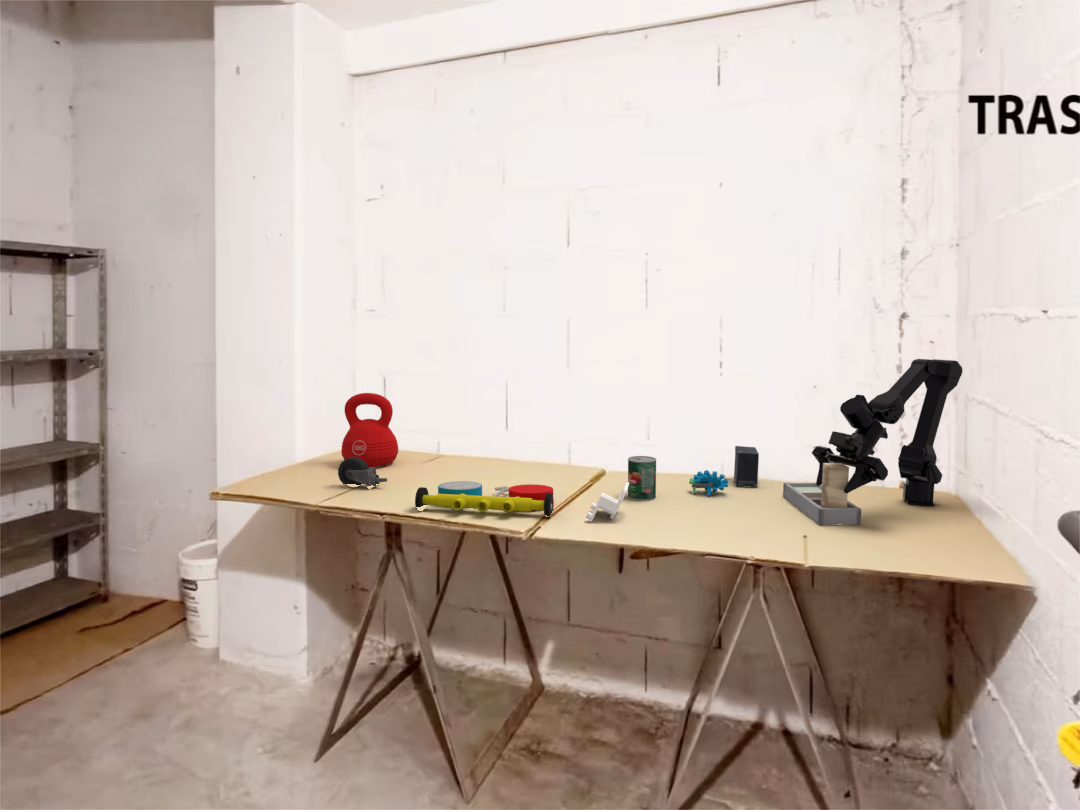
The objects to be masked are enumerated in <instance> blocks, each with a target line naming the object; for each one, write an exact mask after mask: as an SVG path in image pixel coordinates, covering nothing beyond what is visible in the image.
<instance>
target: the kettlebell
mask: <svg viewBox="0 0 1080 810" xmlns="http://www.w3.org/2000/svg"><path fill="white" fill-rule="evenodd" d="M362 405H371V406H376V407H378V409H380V412H381V413H380V414H381V415H380V417H379V419H374V418H364V419H360V418H359V417H358V414H357V408H358V407H359V406H362ZM393 411H394V409H393V405H392V403H391V401H390V400H389V399H388V398H386V397H385V396H383V395H381V394H379V393H374V392H373V393H372V392H362V393H357V394H354V395H352V396H350V398H349V399H348V400H347V401H346V402H345V404H344V414H345V418H346V419H345V420H346V421H347V423H348V425H349V429H348V430H347V432H346V434H345V436H344V437H343V440H342V443H341V457H342V458H343V461H344V460H345V459H347V458H351V457H358V458H360V459H362V460H364V461H365V463H366V464H367V465H368V467H378V466H383V467H385V466H384V465H387V466H389V465H391V464H392V463H394V462H395V460H396V459H397V457H398V454H399V444H398V443H399V442H398V439H397V437H396V436H395V433H394V432H393V431H392V430H391V428H390V427H389V425H390V423H391V420H392V418H393ZM388 464H389V465H388ZM378 468H379V467H378Z"/></svg>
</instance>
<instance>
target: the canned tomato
mask: <svg viewBox="0 0 1080 810" xmlns="http://www.w3.org/2000/svg"><path fill="white" fill-rule="evenodd" d="M627 482H629V486H628V489H627V498H628V499H630V500H633V501H640V502H643V501H644V502H645V501H646V502H647V501H652V500H655V499H657V498H656V497H657V495H656V494H657V458H656V457H653V456H646V455H635V456H629V457H628V458H627Z"/></svg>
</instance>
